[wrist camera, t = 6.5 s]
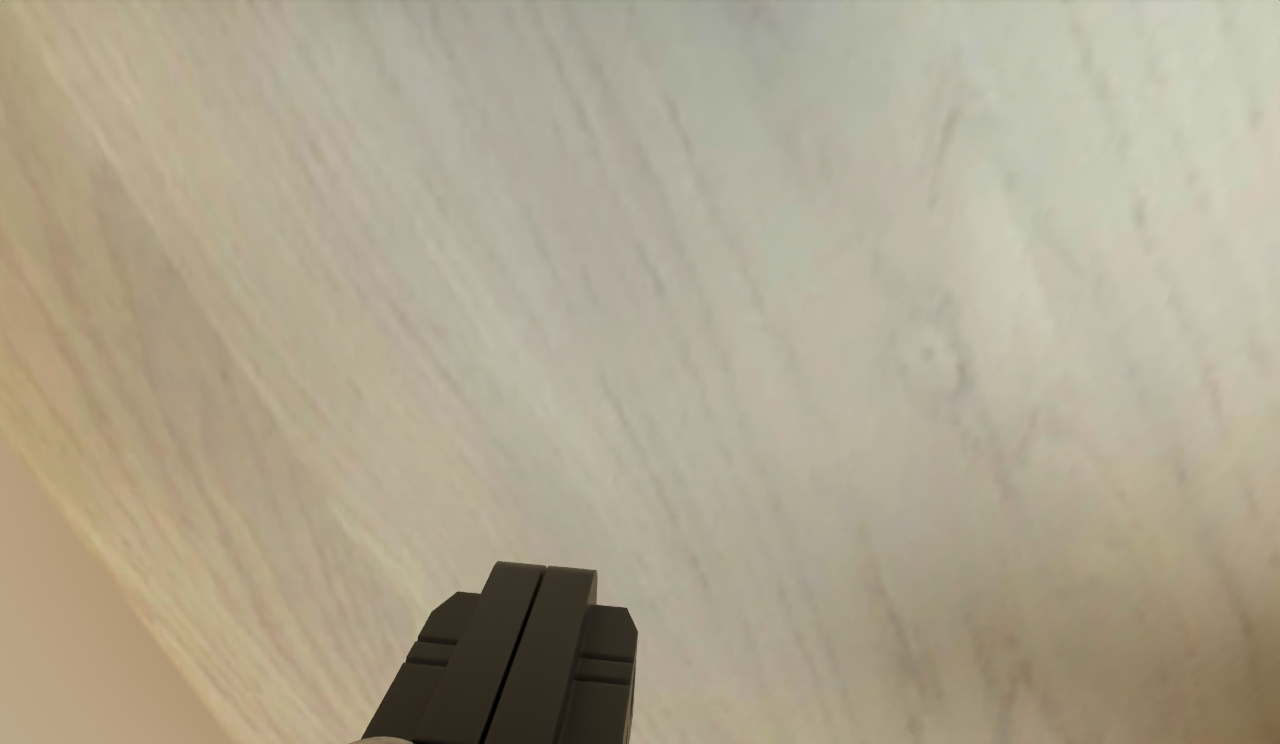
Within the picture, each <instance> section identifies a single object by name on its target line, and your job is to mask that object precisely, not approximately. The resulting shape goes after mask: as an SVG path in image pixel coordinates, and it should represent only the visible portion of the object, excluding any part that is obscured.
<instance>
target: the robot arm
mask: <svg viewBox="0 0 1280 744" xmlns="http://www.w3.org/2000/svg"><path fill="white" fill-rule="evenodd" d="M596 600H597V571H596V570H588V569H578V568H567V567H557V566H548V567H547V568H546V566H544V565H533V564H523V563H512V562H501V561H498V562H496V564H495V565H494V567H493V569H492V571H491V574H490V576H489V578H488V580H487V582H486V584H485V586H484V588H483V590H482V592H481V594H476V593H466V592H456V593H455V594H454V595H453V596H451V597H450V598H449V599H448V600H446V601H445V602H444V603H442V604H441V605H440V606H439V607H437V608H436V609H435V610H433V611H432V612H431V614H430V616H429V618H428V620H427V621H426V623H425V625H424V627H423V629H422V630H421V632H420V634H419V636H418V641H417V642H415V643H414V645H413V647H412V648H411V650H410V652H409V654H408V655H407V658H406V663H403V664H402V666H401V668H400V670H399V672H398V673H397V675H396V677H395V679H394V681H393V682H392V684H391V686H390V688H389V690H388V691H387V693H386V695H385V697H384V699H383V700H382V702H381V704H380V706H379V708H378V709H377V711H376V713H375V715H374V717H373V718H372V720H371V722H370V724H369V726H368V727H367V729H366V731H365V733H364V734H363V736H362V738H361V740H358V741H355V742H352V743H350V744H629V740H630V732H631V725H632V717H633V702H634V686H635V670H636V653H637V637H638V631H637V629H636V627H635V625H634V622H633V620H632V618H631V616H630V614H629V612H628V609H627V608H623V607H612V606H602V605H596Z"/></svg>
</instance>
